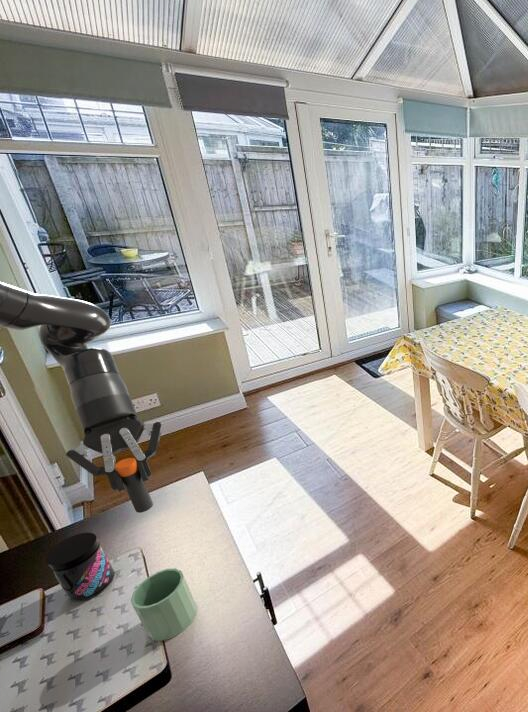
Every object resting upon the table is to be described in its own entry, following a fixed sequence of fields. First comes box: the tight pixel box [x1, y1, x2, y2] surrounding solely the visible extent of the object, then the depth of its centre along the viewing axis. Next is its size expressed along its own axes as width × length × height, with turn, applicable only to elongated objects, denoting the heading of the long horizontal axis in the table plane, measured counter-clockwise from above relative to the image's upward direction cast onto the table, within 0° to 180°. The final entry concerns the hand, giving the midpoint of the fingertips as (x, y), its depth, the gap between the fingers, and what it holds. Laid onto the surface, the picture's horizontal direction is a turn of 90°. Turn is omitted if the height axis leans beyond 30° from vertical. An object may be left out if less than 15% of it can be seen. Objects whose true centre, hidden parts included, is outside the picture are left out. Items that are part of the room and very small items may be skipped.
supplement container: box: [44, 532, 116, 602], centre depth 77 cm, size 7×7×10 cm
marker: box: [115, 457, 154, 514], centre depth 77 cm, size 3×3×11 cm
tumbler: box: [130, 567, 198, 642], centre depth 72 cm, size 7×7×9 cm
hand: (134, 485), depth 75 cm, fingers closed on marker, 2 cm apart
